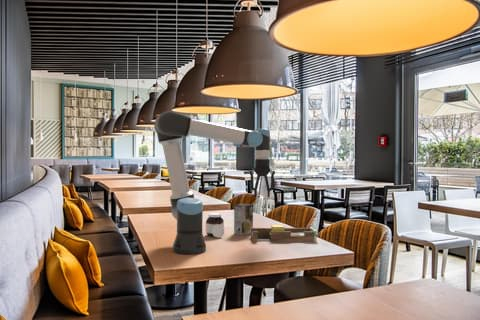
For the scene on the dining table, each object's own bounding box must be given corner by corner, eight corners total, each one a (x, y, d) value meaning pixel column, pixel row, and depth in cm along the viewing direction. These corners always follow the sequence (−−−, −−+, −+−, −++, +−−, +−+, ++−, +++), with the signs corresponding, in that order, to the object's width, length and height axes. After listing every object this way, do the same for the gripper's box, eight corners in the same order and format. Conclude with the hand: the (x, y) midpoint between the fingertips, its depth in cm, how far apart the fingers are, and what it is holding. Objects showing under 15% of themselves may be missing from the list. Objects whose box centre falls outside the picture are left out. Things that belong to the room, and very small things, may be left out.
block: (284, 234, 210) (284, 226, 210) (272, 234, 210) (272, 226, 209) (282, 232, 215) (282, 225, 215) (271, 232, 215) (271, 225, 214)
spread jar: (215, 232, 228) (215, 212, 227) (231, 235, 221) (231, 214, 221) (200, 236, 218) (201, 214, 218) (217, 239, 211) (217, 216, 211)
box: (316, 241, 208) (316, 230, 208) (252, 241, 206) (252, 230, 206) (311, 237, 218) (312, 227, 218) (251, 237, 217) (251, 226, 217)
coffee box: (245, 231, 232) (245, 203, 231) (253, 233, 227) (253, 204, 227) (233, 233, 225) (233, 204, 225) (241, 235, 221) (241, 205, 220)
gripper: (277, 158, 215) (277, 202, 216) (245, 158, 214) (244, 202, 215) (279, 158, 208) (279, 204, 208) (246, 158, 207) (245, 204, 207)
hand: (261, 203), depth 211 cm, fingers open, 4 cm apart
